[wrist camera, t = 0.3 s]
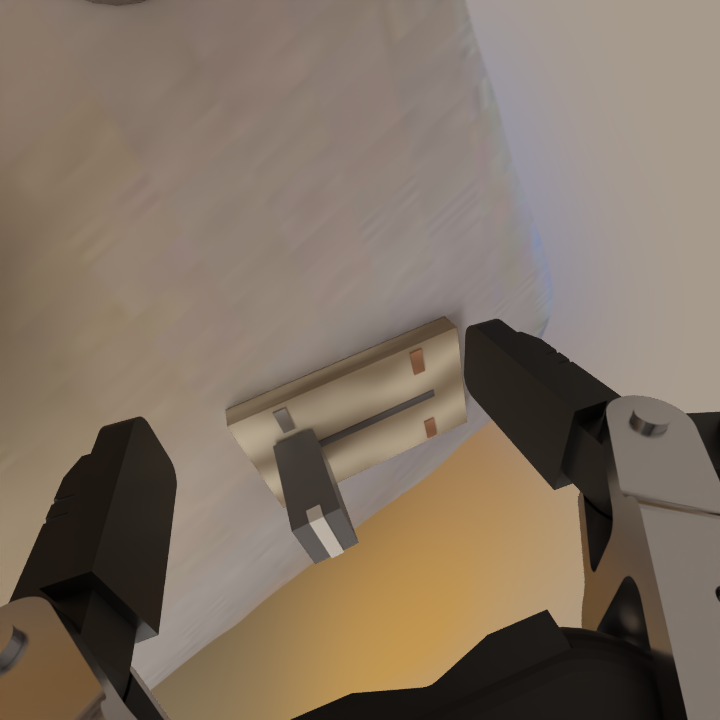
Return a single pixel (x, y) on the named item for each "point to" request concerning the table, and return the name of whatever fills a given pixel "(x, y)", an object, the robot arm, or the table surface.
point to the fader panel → (360, 405)
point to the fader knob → (313, 498)
